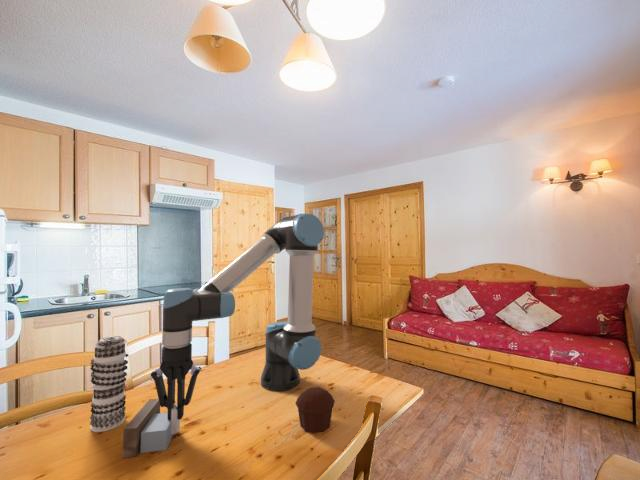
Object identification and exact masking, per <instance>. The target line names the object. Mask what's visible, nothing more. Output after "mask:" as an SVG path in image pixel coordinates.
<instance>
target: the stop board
mask: <svg viewBox="0 0 640 480" xmlns="http://www.w3.org/2000/svg"><path fill="white" fill-rule="evenodd" d="M157 413H161V406H160V402H159V398H149V399H147V401H146V403H145V404H144V405H143V406H142V407H141V408H140V409H139V411H137V413H136V414H135V415H134V416H133V418H132V419H131V420H130V421H129V422H128V423H127V424H126V426H125V427H124V428H123V438H122V440H123V441H122V458H123V459H125V458H126V459H127V458H136V457H137V456H138V455H139V453H140V449H141V432H142V430H143V429H144V427H145V426H146V425H147V423H148V422H149V420H150V419H151V417H152V416H153V414H157Z"/></svg>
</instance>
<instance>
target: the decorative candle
mask: <svg viewBox="0 0 640 480" xmlns="http://www.w3.org/2000/svg"><path fill="white" fill-rule="evenodd" d="M126 343H127V340H126V339H124V338H123V337H122V336H119V335H118V336H117V335H113V336H107V337H103V338H100V339H99V340H98V341H97V343H96V344H94V345H93V348H94V355H93V358H92V359H91V360H90V371H91V372H90V373H91V374H90V377H91V379H90V382H91V389H93V395H92V400H91V401H92V402H90V403H91V404H90V407H91V408H90V409H91V410H90V412H91V414H90V417H89V419H90V422H89V425H90V427H89V428H90V431H91V432H93V433H94V432H95V433H101V432H106V431H111V430H113V429H115V428H118V427H119V426H121V425H122V424H123V423H125V420H126V406H125V405H126V402H127V401H126V398H127V396H126V394H125V393H126V392H125V391H126V390H125V383H126V382H127V377H126V376H128V373H127V372H126V370H128V366H127V364H128V363H129V361H128V360H126V359H125V358H128V357H129V354H128V353H127V352H126Z"/></svg>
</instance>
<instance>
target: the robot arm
mask: <svg viewBox="0 0 640 480" xmlns="http://www.w3.org/2000/svg"><path fill="white" fill-rule="evenodd" d="M324 237H325V228H324V225H323V222H322V221H321V220H320V219H319V217H318V216H316V215H315V214H312V213H299V214H295V215H289V216H285V217H283V218H281V219H279V220H278V221H277V222H276V223H274V224H273V225H272V226H271V227H270V228H269V229H267V230H266V231H265V232H264V233H263V234H262V235H261V239H260V240H258V241H256V242H255V244H253V245H252V246H250V247H249V248H248V249H246V251H244V252H243V253H242V254H241V255H239V256H238V257H237V258H236V259H235V260H234V261H232V262H231V263H230V264H228V265H227V266H226V267H225V268H223V269H222V270H221V271H220V272H219V273H218V274H216V275H215V276H214V277H213V278H211V279H210V280H209V281H208V282H206V283H205V284H204V285H203V286H201V287H197V288H195V289H193V288H189V287H182V288H181V287H178V288H177V287H176V288H175V287H174V288H169V289H167V290H166V291H165V292H164V295H163V301H162V302H163V305H162V333H161V334H162V335H161V336H162V338H161V342H162V343H161V345H162V346H163V347H161V363H160V365H159V367H158V368H155V369H154V370H153V371H152V372H151V373H150V377H151V378H152V380H153V381H154V385H155V389H156V393H157V394H156V395H157V399H159V402H160V408H166V409H167V413H168V420H171V434H173V435H175V434H177V433H178V432H179V429H180V428H181V427H180V424H181V423H180V422H181V420H183V417H184V415H185V413H184V411H185V408H184V406H188V405H189V404H190V402H191V400H192V397H193V393H194V389H195V387H196V381H197V378H198V376H199V373H200V372H201V371H202V367H201V366H197V365H194V361H193V359H192V353H193V352H192V351H193V345H192V341H193V322H195V321H197V322H198V321H206V320H207V321H208V320H214V319H215V320H216V319H224V318H229V317H231V316H233V315H234V313H235V310H236V299H235V296H234V294H233V293H232V291H233V290H234V289H235V288H236V287H237V286H239V284H241V283H242V282H243V281H245V279H247V278H248V277H249V276H250V275H251V274H252V273H254V272H255V271H257V270H258V268H260V267H261V265H264V263H265V262H266V261H267V260H269V259H270V258H271V257H272V256H274V255H276V254H280V253H281V252H282V251H283V250H285V252H286V253H287V254H288V256H289V267H288V271H289V272H288V301H287V302H288V305H287V320H286V321H278V322H277V321H276V322H272V323H271V322H270V323H268V324H267V325H266V327H265V333H264V335H265V364H264V367H263V369H262V373H261V377H260V385H261V387H262V388H264V389H266V390H270V391H275V392H277V391H279V392H280V391H287V390H292V389H294V388H295V387H297V386H298V385H299V384H300V381H301V380H300V378H301V377H300V376H301V375H300V372H299V370H302V371H304V370H308V369H310V368H312V367H314V365H315V364H316V363H317V362H318V360H319V359H320V357H321V354H322V344H321V341H320V340H319V338H317V337H316V332H317V331H316V330H317V329H316V326H315V325H314V324H313V323H312V319H313V317H312V316H313V290H314V289H313V287H314V286H313V285H314V284H313V283H314V282H313V281H314V280H313V279H314V257H315V255H316V254H317V253H318V250H319V249H318V247H319V245H320V244H321V242H322V241H323V239H324ZM189 372H190V375H191V376H190V379H189V384H188V387H187V391H186V392H185V388H186V375H187V374H188V373H189ZM163 374H164V376H165V377H166V384H167V390H166V385H165V381H164V377H163ZM176 383H177V385H176ZM176 386H177V387H176ZM176 389H177V393H176ZM185 393H186V394H185ZM176 397H177V398H176Z"/></svg>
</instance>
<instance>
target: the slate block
mask: <svg viewBox="0 0 640 480" xmlns="http://www.w3.org/2000/svg"><path fill="white" fill-rule="evenodd" d="M173 437H174V434H171V420H168V412H160V413H157V414H153V416H152V417H151V419H150V420H149V422H148V423H147V425H146V426H145V427H144V429H143V430H142V432H141V449H140V451H139V453H140V454H144V453H151V452H153V453H154V452H161V451H166V450H167V448H168V447H169V445H170V442H171V440H172V438H173Z"/></svg>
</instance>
